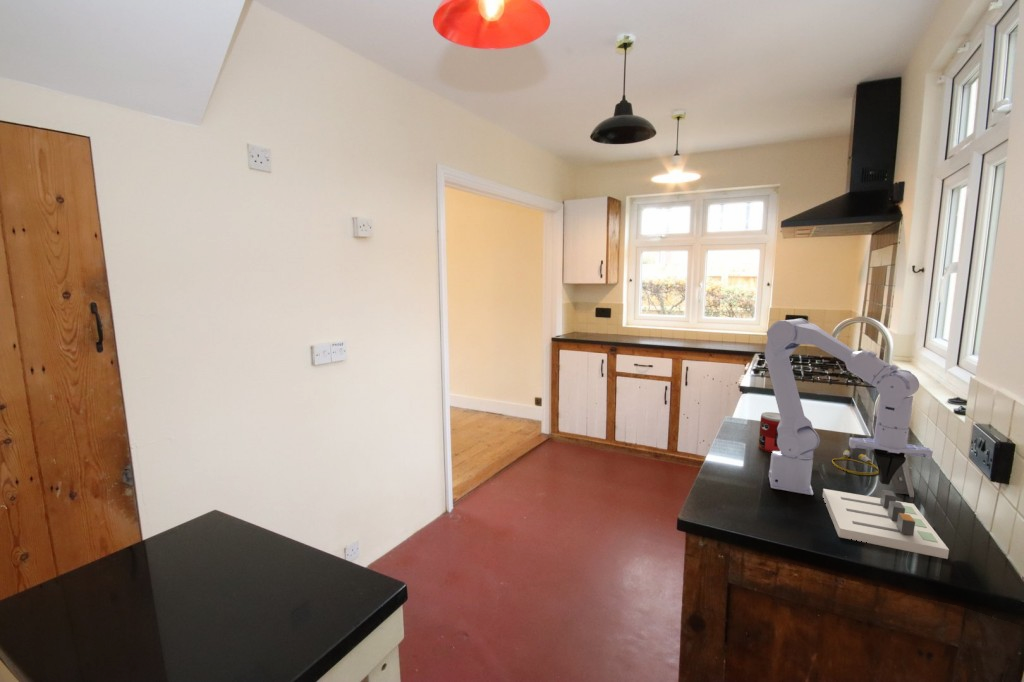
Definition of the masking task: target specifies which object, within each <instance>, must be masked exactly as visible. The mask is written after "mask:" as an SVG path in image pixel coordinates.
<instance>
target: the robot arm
mask: <svg viewBox="0 0 1024 682" xmlns="http://www.w3.org/2000/svg"><path fill="white" fill-rule="evenodd" d="M765 333H766V337H767V340H766V343H765V344H766V345H765V347H764V348H765V349H764V358H765V361H766V366H767V370H768V373H769V378H770V380H771V385H772V389H773V393H774V396H775V397H774V398H775V400H776V401H775V402H776V405H777V408H778V412H779V413H780V417H781V420H780V423H779V425H778V427H777V431H778V438H777V445H778V448H779V450H780V451H772V453H771V452H770V453H771V455H770V462H769V463H770V464H769V470H768V478H769V484H770V488H771V489H775V490H780V491H781V490H782V491H787V492H791V493H797V494H804V495H810V496H813V495H814V491H813V487H812V485H811V482H812V471H813V462H814V450H816V449H817V448H818V447H819V445H820V435H819V433H817V431H816V430H815V429H814V427H813V424H812V422H811V420H810V419H809V418H807V417H806V415H805V413H804V410H803V404H802V401H801V398H800V397H801V396H800V393H799V390H798V385H797V383H796V379H795V374H794V372H793V371H794V370H793V367H792V363H791V360H790V359H791V358H790V356H791V355H792V354H793V353H794V352H795V350H796V349H797V347H799V346H801V345H813V346H815V347H817V348H818V349H820V350H822V351H824V352H825V353H828V354H829V355H831V356H833V357H835V358H837V360H840V361H842V362H844V363H845V366H846V370H847V371H848V372H850V373H852V374H853V375H854V376H856V377H858V378H859V379H862V380H863V381H864V382H866V383H868V384H869V385H871V386H872V387H875V388H876V391H877V393H878V395H879V401H878V406H877V412H876V413H877V414H876V422H875V428H874V429H875V430H874V436H873V438H867V437H866V438H864V437H863V438H862V437H849V439H848V447H849V448H850V449H862V450H863V449H864V450H870V451H871V452H872V454H873V457H874V459H875V462H876V465H877V466H876V467H877V468H878V470H877V471H879V472H878V473H879V474H878V476H879V477H878V478H879V482H880V483H881V484H882V485H888V486H889V485H890V484H891V482H892V477H893V475H894V474H895V472H896V471H897V470H898V468H899V467H900V466H901V465H902V464H904V463H905V461H906V458H905V455H906V456H912V457H919V458H924V459H928V460H932V459H933V453H934V452H933V449H931V448H930V447H926V446H920V445H916V444H910V443H908V437H909V430H910V426H911V425H910V424H911V417H912V409H913V400H914V396H913V395H914V394H915V393H917V392H918V390H919V388H920V382H919V379H918V378H917V376H916V375H914V373H912V371H910V370H907V369H899V366H897V365H895V364H892V365H891V364H890V363H888V362H886V361H884V360H882V359H881V358H879V357H877V355H878V354H877V353H876V352H874V351H873V350H871V351H870V350H869V351H867V350H857V351H856V350H855V349H853V348H851V347H850V346H848V345H846V344H845V343H844V342H842V341H840V339H838V338H836V337H835V336H832V335H831V334H829V333H828V332H826V331H825V330H823V329H822V328H820V326H818V325H817V324H815V323H813V322H809V321H808V320H807V319H804V318H794V319H786V320H784V319H780V320H777V321H775V322H773V323H772V324H771V326H770V327H769V328H768V329H767V331H766V332H765Z"/></svg>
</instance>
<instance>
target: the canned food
mask: <svg viewBox="0 0 1024 682" xmlns="http://www.w3.org/2000/svg"><path fill="white" fill-rule="evenodd" d="M760 415H761V416H760V425H759V435H758V446H759V448H760V449H761V450H762V449H763V450H762V451H764V450H765V451H764V452H767V451H768V452H767V453H771V452H772V451H780V450H779V448H778V445H777V438H778V431H777V427H778V425H779V423H780V420H781V417H780V413H778V412H770V411H768V412H767V411H766V412H762V413H761V414H760Z"/></svg>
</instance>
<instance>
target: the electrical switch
mask: <svg viewBox="0 0 1024 682" xmlns="http://www.w3.org/2000/svg"><path fill="white" fill-rule="evenodd" d="M907 456H908V455H905V458H906V461H905V463H904V464H902V465H901V466H900V467H899V468H898V470H897V471H896V472H895V474H894V475H893V477H892V479H891V483H892V487H893V493H894V494H901V495H902V494H903V495H909V498H915V489H914V481H913V474H912V473H913V472H912V471H913V470H912V469H913V468H912V466H910V464H909V462H908V457H907Z"/></svg>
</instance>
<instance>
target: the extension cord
mask: <svg viewBox="0 0 1024 682" xmlns="http://www.w3.org/2000/svg"><path fill="white" fill-rule="evenodd" d="M850 457H851V451H850V450H848V449H845V450H844V451H843V453H842V457H839V458H837V457H836V458H832V460H831V462H832V464H834V465H833V466H834V467H835V466H836V467H835V468H837V469H838V468H839V470H841V471H843V470H844V471H843V472H846V471H847V473H849V474H852V475H857V476H858V475H859V476H875V475H876V476H877V475H879V471H878V466H876V465H875V464H874V463H872V460H871V458H869V457H868V456H867V454H863V453H860V454H859V455H858V456H857V458H858V459H859V460H860V461H859V460H856V459H853V458H852V459H851V458H850ZM833 460H835V461H837V460H843V461H845V460H846V461H853V462H858V463H861V464H864V465H867V466H868V467H869V466H870V467H871V468H874V469H875V470H877V471H873V472H872V471H871V472H870V471H869V472H863V471H862V472H861V471H853V470H850V469H847V468H844V467H841V466H840V465H837V464H836V463H835V461H833Z"/></svg>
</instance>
